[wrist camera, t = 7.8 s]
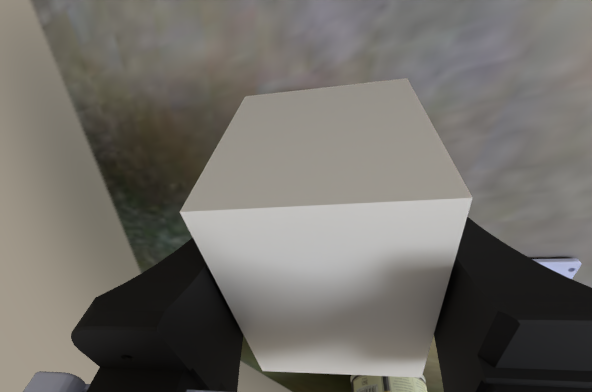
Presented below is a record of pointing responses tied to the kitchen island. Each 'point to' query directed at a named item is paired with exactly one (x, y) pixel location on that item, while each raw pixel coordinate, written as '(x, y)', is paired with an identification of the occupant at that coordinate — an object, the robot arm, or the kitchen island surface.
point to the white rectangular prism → (332, 227)
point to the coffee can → (387, 384)
